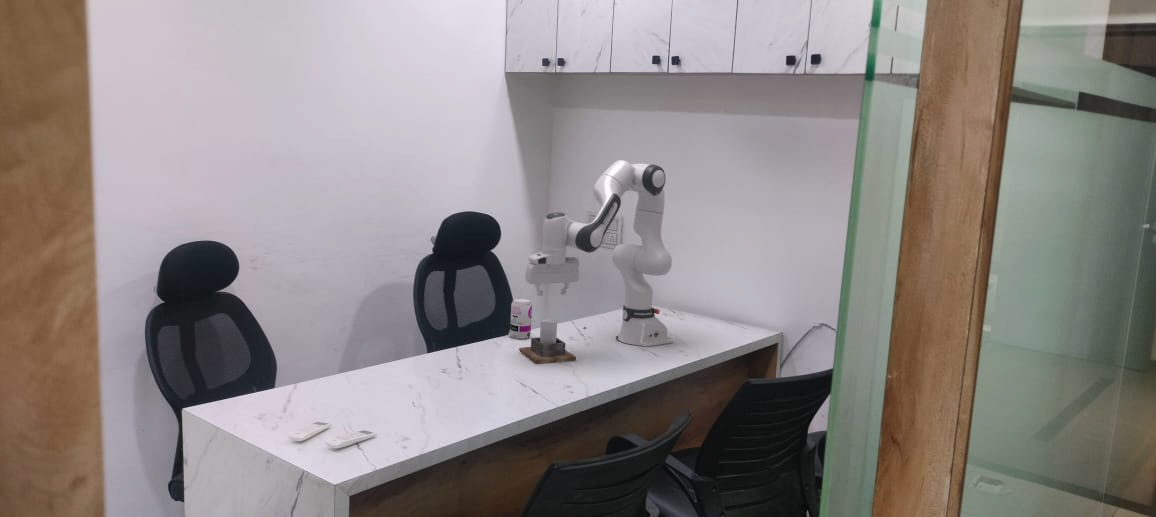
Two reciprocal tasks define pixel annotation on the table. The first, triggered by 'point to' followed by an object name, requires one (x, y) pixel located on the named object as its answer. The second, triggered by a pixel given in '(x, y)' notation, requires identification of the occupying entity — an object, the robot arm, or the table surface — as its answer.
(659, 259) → the robot arm
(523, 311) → the supplement can
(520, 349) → the bottle stand
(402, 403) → the table surface
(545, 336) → the skincare box
